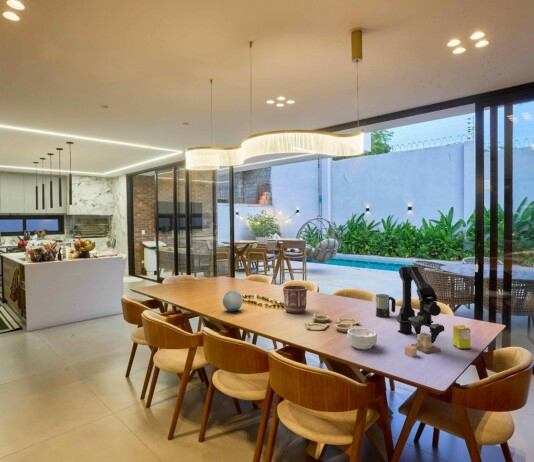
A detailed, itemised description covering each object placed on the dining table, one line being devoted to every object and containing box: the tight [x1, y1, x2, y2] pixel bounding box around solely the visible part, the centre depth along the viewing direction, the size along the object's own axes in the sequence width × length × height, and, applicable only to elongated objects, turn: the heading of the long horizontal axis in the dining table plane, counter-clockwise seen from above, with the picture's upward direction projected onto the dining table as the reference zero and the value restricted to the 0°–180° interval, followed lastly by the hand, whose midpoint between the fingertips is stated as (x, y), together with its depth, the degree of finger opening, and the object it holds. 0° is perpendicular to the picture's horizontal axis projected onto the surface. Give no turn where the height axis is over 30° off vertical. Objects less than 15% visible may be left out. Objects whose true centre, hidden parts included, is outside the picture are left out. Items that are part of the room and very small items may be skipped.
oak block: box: [416, 332, 433, 349], centre depth 177 cm, size 5×5×6 cm
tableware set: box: [303, 312, 361, 333], centre depth 219 cm, size 35×29×4 cm
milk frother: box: [375, 293, 397, 319], centre depth 243 cm, size 14×16×15 cm
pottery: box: [282, 284, 308, 315], centre depth 253 cm, size 18×18×18 cm
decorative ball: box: [222, 290, 244, 312], centre depth 255 cm, size 15×15×15 cm
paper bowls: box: [346, 327, 378, 350], centre depth 182 cm, size 15×15×8 cm
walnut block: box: [410, 343, 441, 355], centre depth 177 cm, size 10×10×2 cm
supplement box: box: [452, 324, 471, 350], centre depth 179 cm, size 6×6×11 cm
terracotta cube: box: [404, 344, 418, 358], centre depth 170 cm, size 4×4×4 cm
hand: (425, 340), depth 177 cm, fingers open, 9 cm apart
